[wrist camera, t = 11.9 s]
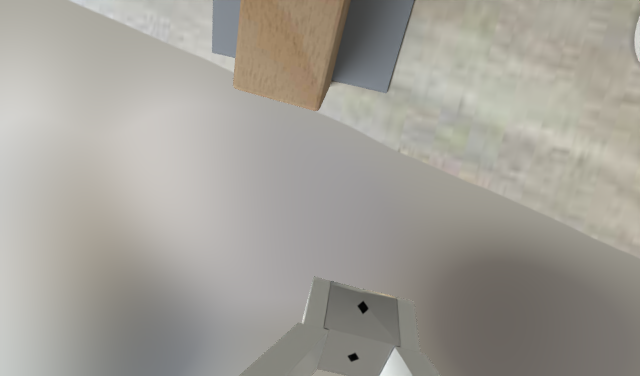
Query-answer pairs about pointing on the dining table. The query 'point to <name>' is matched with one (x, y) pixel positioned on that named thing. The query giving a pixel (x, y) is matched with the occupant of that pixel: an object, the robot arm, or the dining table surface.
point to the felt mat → (356, 43)
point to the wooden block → (289, 48)
